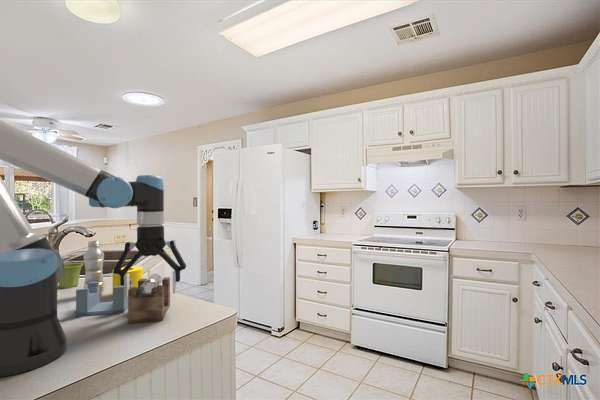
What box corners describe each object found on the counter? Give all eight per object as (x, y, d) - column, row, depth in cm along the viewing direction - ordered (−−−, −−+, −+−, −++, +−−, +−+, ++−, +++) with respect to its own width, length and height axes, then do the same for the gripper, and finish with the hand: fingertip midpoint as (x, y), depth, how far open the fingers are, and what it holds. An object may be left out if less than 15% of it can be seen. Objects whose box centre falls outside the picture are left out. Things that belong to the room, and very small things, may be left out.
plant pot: (82, 282, 131) (82, 262, 131) (83, 286, 123) (84, 265, 123) (54, 285, 125) (54, 265, 125) (54, 291, 117) (54, 268, 117)
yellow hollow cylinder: (118, 300, 106) (118, 273, 106) (108, 294, 113) (108, 269, 113) (147, 293, 114) (147, 268, 114) (136, 288, 120) (136, 265, 120)
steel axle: (153, 296, 88) (153, 282, 88) (138, 297, 87) (138, 283, 87) (161, 285, 99) (161, 273, 99) (148, 286, 98) (148, 274, 98)
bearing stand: (170, 305, 100) (170, 277, 100) (162, 320, 88) (162, 287, 88) (140, 308, 98) (140, 278, 98) (128, 323, 86) (128, 290, 86)
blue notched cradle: (123, 312, 94) (123, 286, 94) (76, 316, 91) (76, 289, 91) (132, 303, 103) (132, 279, 103) (89, 306, 100) (89, 282, 100)
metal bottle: (92, 298, 108) (92, 242, 108) (78, 296, 110) (78, 242, 110) (108, 293, 114) (108, 240, 114) (95, 291, 116) (95, 239, 116)
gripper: (194, 223, 100) (194, 287, 100) (109, 225, 94) (110, 293, 94) (192, 225, 93) (192, 294, 92) (100, 227, 86) (100, 301, 86)
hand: (151, 294), depth 93 cm, fingers open, 13 cm apart
